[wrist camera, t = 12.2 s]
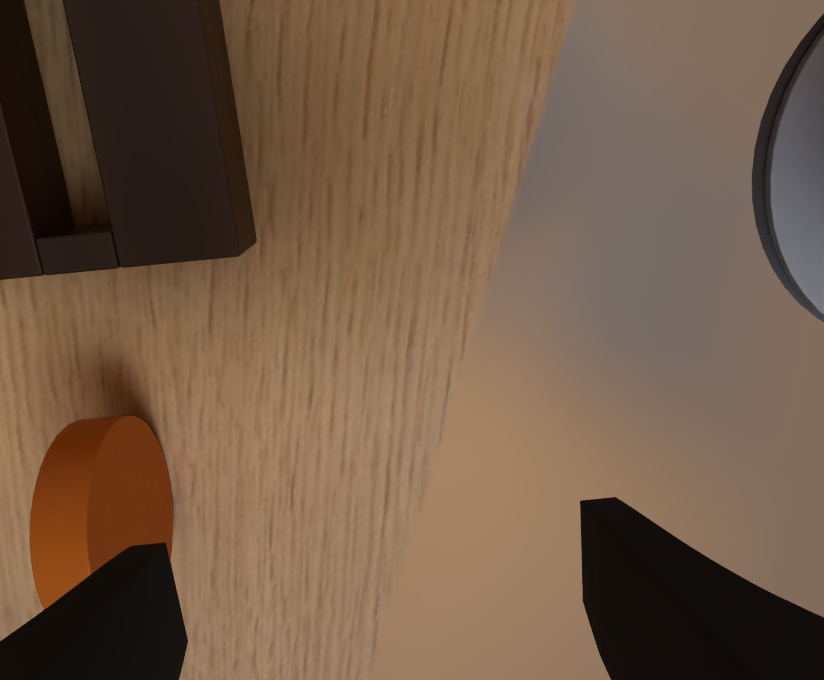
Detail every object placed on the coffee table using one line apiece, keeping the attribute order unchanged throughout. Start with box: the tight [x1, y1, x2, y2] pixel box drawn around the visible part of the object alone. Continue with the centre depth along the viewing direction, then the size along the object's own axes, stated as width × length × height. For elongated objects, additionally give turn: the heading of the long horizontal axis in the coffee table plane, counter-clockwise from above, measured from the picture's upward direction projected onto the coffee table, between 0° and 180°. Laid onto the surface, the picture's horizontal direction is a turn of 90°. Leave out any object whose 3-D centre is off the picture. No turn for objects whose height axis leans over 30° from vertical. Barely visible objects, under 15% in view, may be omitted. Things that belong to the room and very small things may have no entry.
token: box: [30, 415, 173, 610], centre depth 20 cm, size 1×6×6 cm, turn 5°
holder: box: [0, 0, 257, 280], centre depth 18 cm, size 8×9×2 cm
